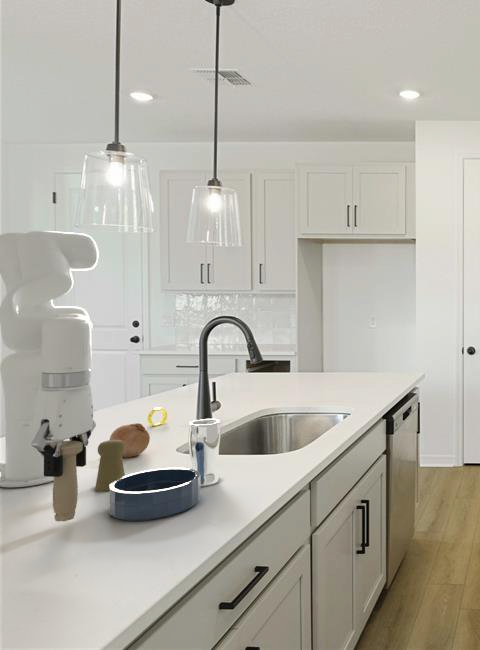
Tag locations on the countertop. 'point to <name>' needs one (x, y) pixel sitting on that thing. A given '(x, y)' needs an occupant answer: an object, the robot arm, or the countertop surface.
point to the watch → (153, 412)
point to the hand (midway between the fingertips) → (65, 470)
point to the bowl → (154, 494)
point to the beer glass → (205, 449)
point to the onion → (132, 439)
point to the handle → (66, 482)
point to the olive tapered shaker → (109, 464)
